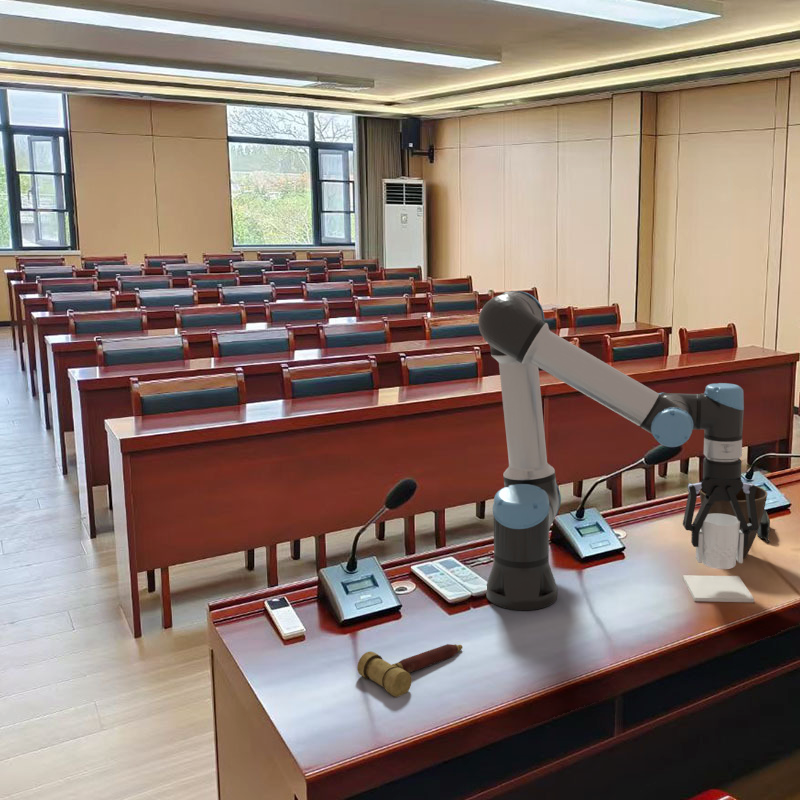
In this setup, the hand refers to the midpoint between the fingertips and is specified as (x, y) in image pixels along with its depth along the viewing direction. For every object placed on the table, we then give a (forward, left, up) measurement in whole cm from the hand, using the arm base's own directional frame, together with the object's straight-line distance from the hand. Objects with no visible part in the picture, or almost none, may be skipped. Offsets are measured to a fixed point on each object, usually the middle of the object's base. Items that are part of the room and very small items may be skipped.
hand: (718, 560), depth 183 cm
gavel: (-61, -37, -7) cm, 72 cm away
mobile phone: (+20, +37, -7) cm, 42 cm away
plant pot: (+8, +21, -7) cm, 23 cm away
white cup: (0, 0, -1) cm, 1 cm away
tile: (0, 0, -7) cm, 7 cm away
